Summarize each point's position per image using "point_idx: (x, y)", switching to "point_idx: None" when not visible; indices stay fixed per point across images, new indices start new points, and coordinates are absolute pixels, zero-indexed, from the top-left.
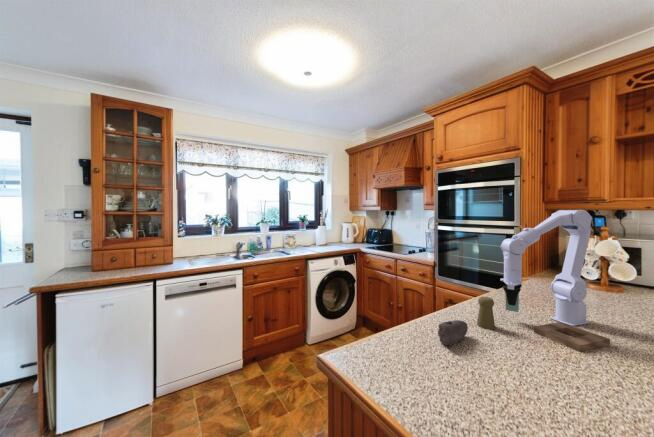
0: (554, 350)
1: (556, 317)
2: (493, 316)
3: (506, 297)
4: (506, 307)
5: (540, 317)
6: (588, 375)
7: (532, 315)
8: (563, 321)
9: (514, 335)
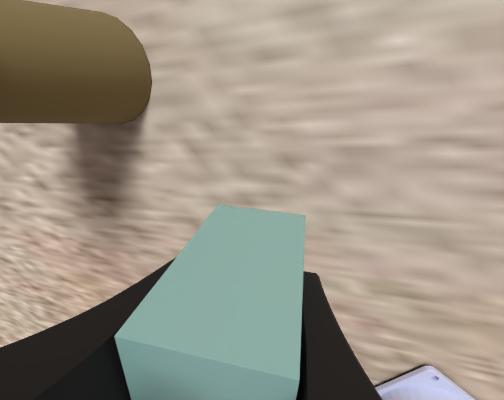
0: (82, 295)
1: (419, 393)
2: (56, 122)
3: (163, 282)
4: (211, 219)
5: (431, 333)
6: (15, 320)
7: (454, 308)
8: (383, 395)
9: (99, 202)
